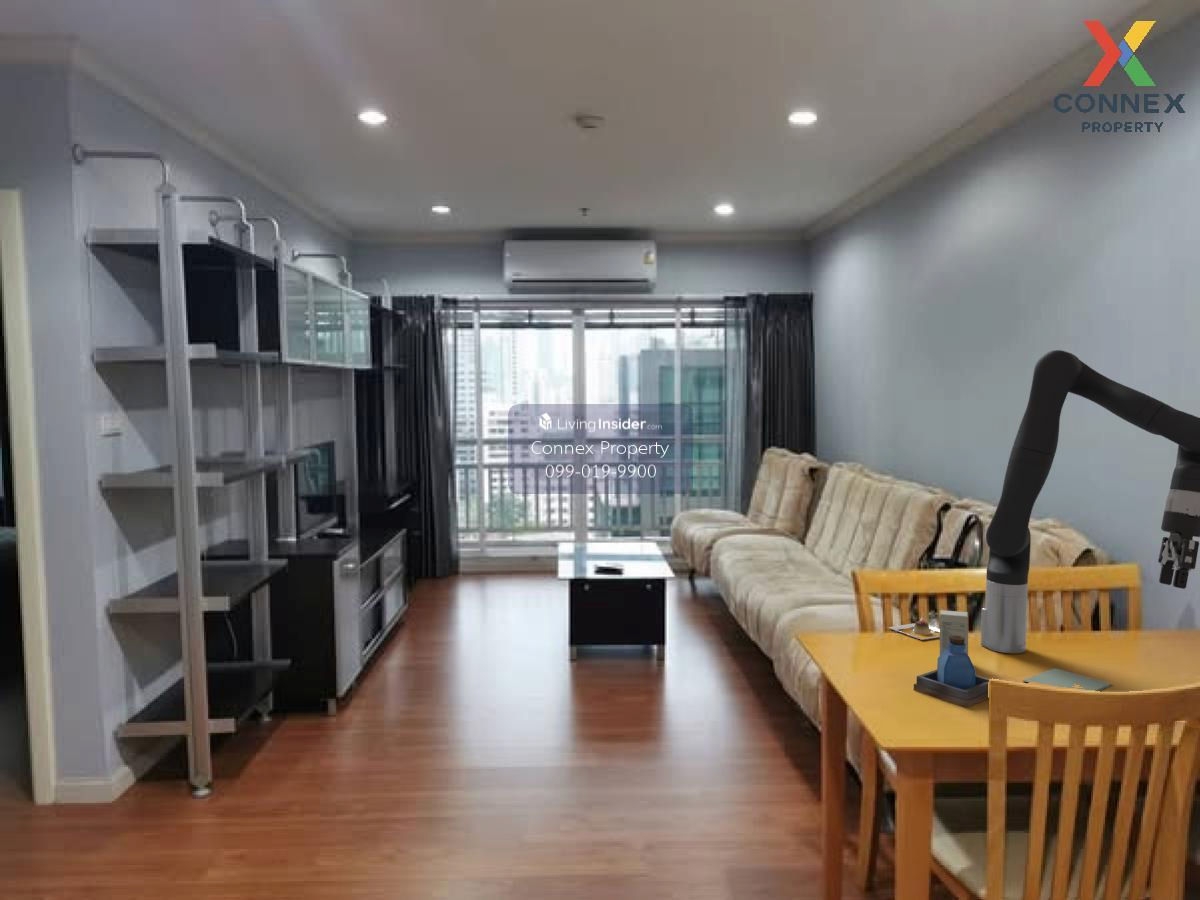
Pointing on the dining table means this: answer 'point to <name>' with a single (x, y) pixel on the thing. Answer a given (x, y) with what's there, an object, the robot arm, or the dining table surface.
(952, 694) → the shallow navy tray
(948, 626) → the skincare box
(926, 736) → the dining table surface
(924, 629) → the dessert
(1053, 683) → the mat
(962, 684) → the perfume bottle
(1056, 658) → the dining table surface
